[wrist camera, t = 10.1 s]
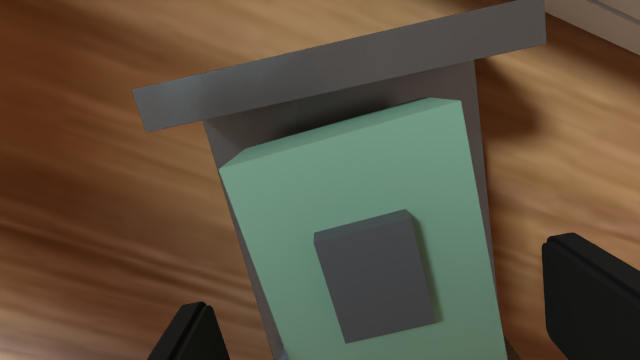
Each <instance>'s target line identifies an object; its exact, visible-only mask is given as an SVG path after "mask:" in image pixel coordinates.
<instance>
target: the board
mask: <svg viewBox="0 0 640 360" xmlns="http://www.w3.org/2000/svg"><path fill="white" fill-rule="evenodd" d="M219 172H220V175H221V177H222V180H223V183H224V185H225V188H226V191H227V193H228V196H229V199H230V202H231V204H232V207H233V210H234V212H235V215H236V218H237V221H238V223H239V226H240V229H241V231H242V234H243V237H244V239H245V242H246V245H247V248H248V250H249V253H250V256H251V258H252V261H253V264H254V266H255V269H256V272H257V275H258V277H259V280H260V283H261V285H262V288H263V291H264V293H265V296H266V299H267V302H268V304H269V307H270V310H271V312H272V315H273V318H274V321H275V323H276V326H277V329H278V331H279V334H280V337H281V339H282V342H283V345H284V348H285V350H286V353H287V356H288V358H289V360H508V359H507V354H506V348H505V343H504V337H503V331H502V326H501V320H500V315H499V309H498V304H497V298H496V293H495V287H494V282H493V276H492V270H491V265H490V259H489V254H488V248H487V243H486V237H485V232H484V226H483V221H482V215H481V210H480V204H479V198H478V193H477V187H476V182H475V176H474V171H473V165H472V160H471V154H470V149H469V143H468V137H467V132H466V126H465V121H464V115H463V110H462V104H461V101H459V100H449V99H440V98H430V97H423V98H420V99H416V100H413V101H409V102H406V103H402V104H399V105H396V106H392V107H389V108H385V109H382V110H378V111H375V112H371V113H368V114H364V115H361V116H357V117H354V118H350V119H347V120H343V121H340V122H336V123H333V124H329V125H326V126H322V127H319V128H315V129H312V130H308V131H305V132H301V133H298V134H294V135H291V136H287V137H284V138H280V139H277V140H273V141H270V142H267V143H263V144H260V145H256V146H253V147H249V148H246V149H244V150H243V151H242V152H240V153H239V154H238V155H237V156H235V157H234V158H233V159H231V160H230V161H229V162H227V163H226V164H225V165H224V166H222V167H221V168H220V169H219Z"/></svg>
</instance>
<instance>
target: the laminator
mask: <svg viewBox="0 0 640 360" xmlns="http://www.w3.org/2000/svg"><path fill="white" fill-rule="evenodd" d="M544 1H545V12H546V13H548V14H551V15H553V16H555V17H557V18H559V19H561V20H564V21H566V22H568V23H570V24H572V25H575V26H577V27H579V28H581V29H583V30H585V31H588V32H590V33H592V34H594V35H596V36H599V37H601V38H603V39H605V40H607V41H609V42H612V43H614V44H616V45H618V46H620V47H623V48H625V49H627V50H629V51H631V52H633V53H636V54H638V55H640V0H544Z"/></svg>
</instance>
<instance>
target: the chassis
mask: <svg viewBox="0 0 640 360" xmlns="http://www.w3.org/2000/svg"><path fill="white" fill-rule="evenodd" d="M543 44H547V43H546V22H545V1H544V0H515V1H511V2H507V3H502V4H498V5H494V6H489V7H485V8H481V9H477V10H472V11H468V12H464V13H459V14H455V15H451V16H446V17H442V18H438V19H433V20H429V21H425V22H421V23H416V24H412V25H408V26H403V27H399V28H395V29H390V30H386V31H382V32H377V33H373V34H369V35H364V36H360V37H356V38H352V39H347V40H343V41H339V42H334V43H330V44H326V45H321V46H317V47H313V48H308V49H304V50H300V51H295V52H291V53H287V54H283V55H278V56H274V57H270V58H265V59H261V60H257V61H252V62H248V63H244V64H239V65H235V66H231V67H226V68H222V69H218V70H214V71H209V72H205V73H201V74H196V75H192V76H188V77H183V78H179V79H175V80H170V81H166V82H162V83H157V84H153V85H149V86H145V87H140V88H136V89H132V93H133V96H134V99H135V101H136V104H137V107H138V110H139V113H140V116H141V119H142V122H143V125H144V128H145V131H146V133H147V132H151V131H156V130H160V129H165V128H169V127H174V126H178V125H183V124H187V123H192V122H196V121H201V120H203V123H204V126H205V130H206V133H207V136H208V140H209V143H210V146H211V150H212V153H213V156H214V160H215V163H216V167H217V170H218V173H219V177H220V180H221V183H222V187H223V190H224V193H225V197H226V200H227V203H228V207H229V210H230V213H231V217H232V220H233V224H234V227H235V230H236V234H237V237H238V240H239V244H240V247H241V250H242V254H243V257H244V260H245V264H246V267H247V270H248V274H249V277H250V280H251V284H252V287H253V291H254V294H255V297H256V301H257V304H258V307H259V311H260V314H261V317H262V321H263V324H264V327H265V331H266V334H267V337H268V341H269V344H270V348H271V351H272V354H273V358H274V360H289V358H288V356H287V353H286V350H285V348H284V345H283V342H282V339H281V337H280V334H279V331H278V329H277V326H276V323H275V321H274V318H273V315H272V312H271V310H270V307H269V304H268V302H267V299H266V296H265V293H264V291H263V288H262V285H261V283H260V280H259V277H258V275H257V272H256V269H255V266H254V264H253V261H252V258H251V256H250V253H249V250H248V248H247V245H246V242H245V239H244V237H243V234H242V231H241V229H240V226H239V223H238V221H237V218H236V215H235V212H234V210H233V207H232V204H231V202H230V199H229V196H228V193H227V191H226V188H225V185H224V183H223V180H222V177H221V175H220V172H219V169H220V168H221V167H222V166H224V165H225V164H226V163H227V162H229V161H230V160H231V159H233V158H234V157H235V156H237V155H238V154H239V153H240V152H242V151H243V150H244V149H246V148H249V147H253V146H256V145H260V144H263V143H267V142H270V141H273V140H277V139H280V138H284V137H287V136H291V135H294V134H298V133H301V132H305V131H308V130H312V129H315V128H319V127H322V126H326V125H329V124H333V123H336V122H340V121H343V120H347V119H350V118H354V117H357V116H361V115H364V114H368V113H371V112H375V111H378V110H382V109H385V108H389V107H392V106H396V105H399V104H402V103H406V102H409V101H413V100H416V99H420V98H423V97H430V98H440V99H449V100H459V101H461V104H462V110H463V115H464V121H465V126H466V132H467V137H468V143H469V149H470V154H471V160H472V165H473V171H474V176H475V182H476V187H477V193H478V198H479V204H480V210H481V215H482V221H483V226H484V232H485V237H486V243H487V248H488V254H489V259H490V265H491V270H492V276H493V282H494V287H495V293H496V298H497V304H498V297H497V287H496V277H495V267H494V257H493V247H492V236H491V226H490V216H489V206H488V196H487V186H486V175H485V165H484V155H483V145H482V135H481V124H480V114H479V104H478V94H477V84H476V74H475V63H474V60H476V59H480V58H485V57H489V56H494V55H498V54H503V53H507V52H512V51H516V50H521V49H525V48H530V47H534V46H539V45H543ZM498 309H499V308H498ZM503 337H504V343H505V348H506V354H507V359H508V360H521V359H520V357H519V356H518V354H517V353H516V352H515V350H514V349H513V347H512V346H511V345H510V343H509V342H508V340H507V339H506V338H505V336H504V335H503Z"/></svg>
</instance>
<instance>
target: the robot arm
mask: <svg viewBox="0 0 640 360" xmlns="http://www.w3.org/2000/svg"><path fill="white" fill-rule="evenodd" d="M542 263H543V281H544V298H545V316H546V329H547V332H548V334H549V336H550V338H551V340H552V341H553V342H554V343H555V345H556V346H557V347H558V348H559V349H560V350H561V351H562V352H563V353H564V355H565V356H566V357H567V358H568V359H569V360H640V271H639V270H637V269H635V268H634V267H632V266H630V265H629V264H627V263H625V262H623V261H622V260H620V259H618V258H617V257H615V256H613V255H612V254H610V253H608V252H606V251H605V250H603V249H601V248H600V247H598V246H596V245H595V244H593V243H591V242H589V241H588V240H586V239H584V238H583V237H581V236H579V235H578V234H576V233H566V234H561V235H555V236H550V237H549V238H548V239H547V243H544V244H543V245H542ZM147 360H230V358H229V355H228V352H227V349H226V346H225V343H224V340H223V337H222V334H221V331H220V328H219V325H218V322H217V320H216V317H215V314H214V311H213V308H212V307H211V306H210V305H209V306H206V304H205V303H204V302H197V303H191V304H186V305H182V307H181V308H180V309H179V311H178V312H177V314H176V315H175V317H174V318H173V320H172V322H171V323H170V325H169V326H168V328H167V329H166V331H165V332H164V334H163V335H162V337H161V339H160V340H159V342H158V343H157V345H156V346H155V348H154V349H153V351H152V353H151V354H150V356H149V357H148V359H147Z"/></svg>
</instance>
